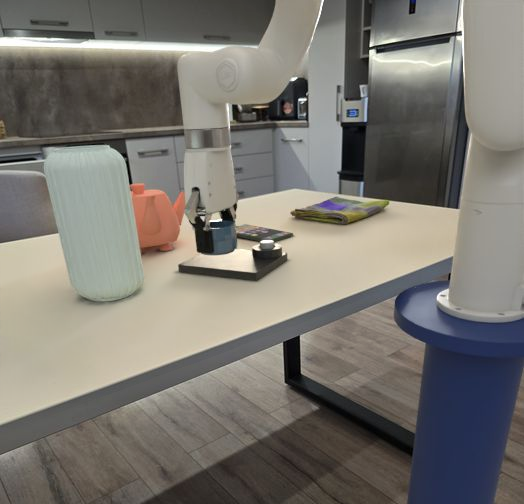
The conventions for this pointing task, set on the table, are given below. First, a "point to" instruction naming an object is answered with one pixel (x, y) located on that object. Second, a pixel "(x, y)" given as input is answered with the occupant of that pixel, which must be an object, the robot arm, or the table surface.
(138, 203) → the teapot
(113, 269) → the vase
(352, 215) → the dish towel
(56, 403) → the table surface
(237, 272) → the scale
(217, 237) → the bowl
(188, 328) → the table surface
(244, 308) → the table surface
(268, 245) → the button
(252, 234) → the smartphone
